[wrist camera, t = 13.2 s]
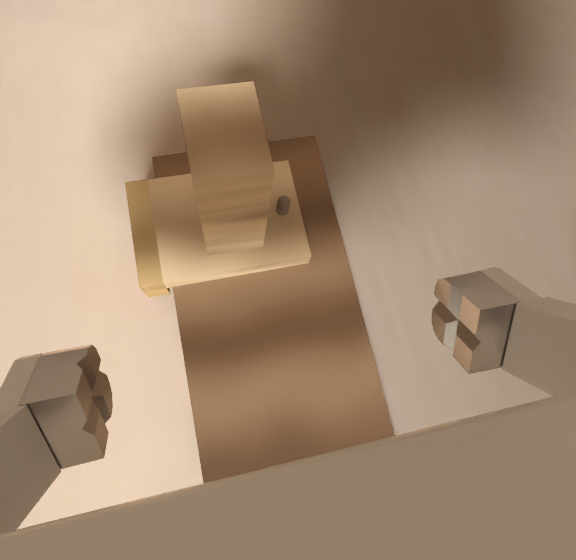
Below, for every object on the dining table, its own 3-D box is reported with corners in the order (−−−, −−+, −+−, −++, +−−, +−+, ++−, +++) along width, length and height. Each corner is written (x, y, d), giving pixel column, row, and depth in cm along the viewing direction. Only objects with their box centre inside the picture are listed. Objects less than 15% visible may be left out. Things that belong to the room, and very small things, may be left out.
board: (159, 178, 28) (152, 157, 26) (308, 157, 30) (314, 136, 27) (219, 551, 23) (217, 569, 20) (397, 501, 24) (415, 512, 22)
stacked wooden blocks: (135, 201, 26) (71, 77, 16) (284, 180, 28) (309, 54, 18) (148, 297, 25) (87, 224, 15) (305, 269, 26) (345, 185, 16)
